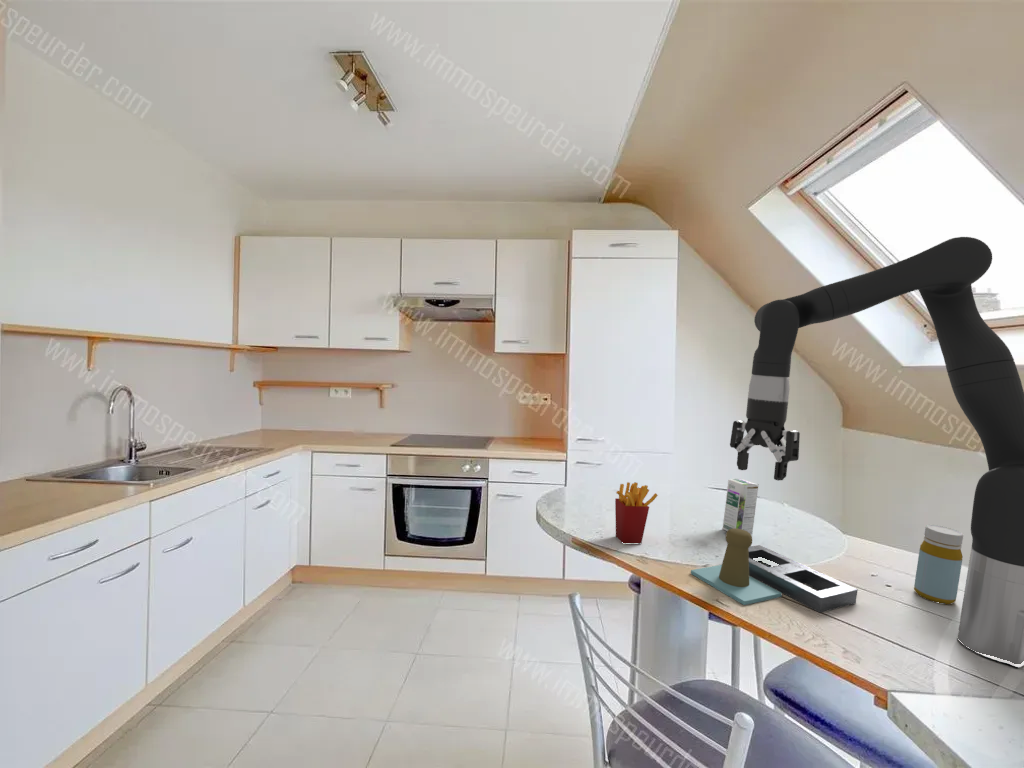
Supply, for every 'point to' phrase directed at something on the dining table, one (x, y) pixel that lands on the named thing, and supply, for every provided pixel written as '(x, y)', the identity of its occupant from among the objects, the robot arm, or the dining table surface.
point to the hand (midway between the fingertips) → (759, 474)
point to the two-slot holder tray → (800, 581)
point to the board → (741, 594)
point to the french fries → (631, 513)
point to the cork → (736, 558)
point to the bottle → (939, 564)
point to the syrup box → (740, 505)
